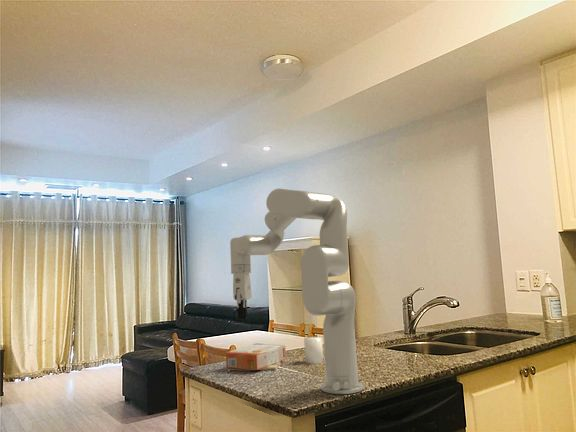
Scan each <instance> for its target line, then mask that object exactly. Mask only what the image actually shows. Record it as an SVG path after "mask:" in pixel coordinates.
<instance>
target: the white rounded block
mask: <svg viewBox="0 0 576 432" xmlns="http://www.w3.org/2000/svg"><path fill="white" fill-rule="evenodd" d="M303 343H304V361H305V364H311V365H317V364H323V363H324V346H323V337H321V336H310V337H309V336H308V337H307V336H306V337H304V341H303Z"/></svg>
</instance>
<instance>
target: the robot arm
mask: <svg viewBox="0 0 576 432" xmlns="http://www.w3.org/2000/svg"><path fill="white" fill-rule="evenodd" d="M265 201H266V208H267V210H268V212H267V213H266V214H265V217H264V223H265V226H266V227H267V228H268V229H269V231H268V232H267V234H265V235H261V234H246V235H242V236H239V237H233V238H231V239H230V242H229V243H230V244H229V245H230V247H229V248H230V249H229V250H230V275H233V277H232V293H233V294H232V295H233V300H235V301H236V304H237V305H236V306H237V320H246V319H248V300H251V298H252V295H253V294H252V285H251V275H250V274H251V273H252V268H251V267H252V265H251V264H252V263H251V256H266V255H270V254H272V253H273V252H274V251H275V250H276V249H278V247H280V246H281V244H282V242H284V241H283V240H284V237H285V230H286V229H288V227H289V226H290V225H291V224H292V223H293V222H294V221H295V220H296V219H305V220H319V221H320V220H321V221H322V223H321V226H320V228H319V244H314V245H311V246H309V247H308V248H306V250H305V251H304V252H303V254H302V256H301V257H302V258H301V262H300V272H301V274H300V275H301V276H300V277H301V293H302V294H301V295H302V296H301V297H302V302H303V305H304V308H305V309H306V311H307V312H308V313H309V314H310V315H312V316H324V320H323V325H322V326H323V327H322V333H323V334H322V336H323V337H322V339H323V357H324V371H325V382H322V383H321V385H320V389H321V391H322V392H324V393H327V394H334V395H348V394H349V395H350V394H356V393H359V392H362V391H363V390H364V389H365V386H364V385H365V384H364V383H363V382H362V381H359V375H358V374H359V372H358V361H357V360H358V358H357V357H358V356H357V345H356V326H355V314H356V313H355V312H356V304H357V297H356V296H357V295H356V291H355V289H354V288H353V286H352V285H351V284H350V283H348V282H347V281H343V280H330V281H329V278H331V277H339V276H343V275H344V274H346V272H348V270H349V265H350V261H349V260H350V259H349V257H350V256H349V243H348V242H349V241H348V229H347V228H348V227H347V225H348V212H347V208H346V207H347V206H346V205H345V203H344V201H342V199H340V198H339V197H337V196H335V195H332V194H326V193H323V192H312V191H307V190H306V191H304V190H295V189H286V188H275V189H273V190H272V191H270V192H269V194H268V195H267V198H266V200H265Z"/></svg>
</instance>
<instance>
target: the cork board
mask: <svg viewBox="0 0 576 432" xmlns="http://www.w3.org/2000/svg"><path fill="white" fill-rule="evenodd" d="M282 362H283V360H282V361H280V362H277V363H274V364H272V365H269V366H267V367H264V368H262V369H259V370H273V371H276V370H277V369H278V368H277V367H279V366H280V365H281V364H282ZM227 370H249V369H238V368H226V371H227Z"/></svg>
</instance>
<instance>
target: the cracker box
mask: <svg viewBox="0 0 576 432" xmlns="http://www.w3.org/2000/svg"><path fill="white" fill-rule="evenodd" d="M286 355H287V353H286V344H275V343H274V344H273V343H258V342H257V343H253V344H250V345H247V346H243V347H241V348H237V349H233V350H230V351H227V352H225V361H226V362H225V363H226V364H225V365H226V369H228V368H238V369H249V370H259V369H262V368H264V367H267V366H269V365H272V364H274V363H277V362H280V361H282V362H283V361H285V360H286V359H287V356H286Z"/></svg>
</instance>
